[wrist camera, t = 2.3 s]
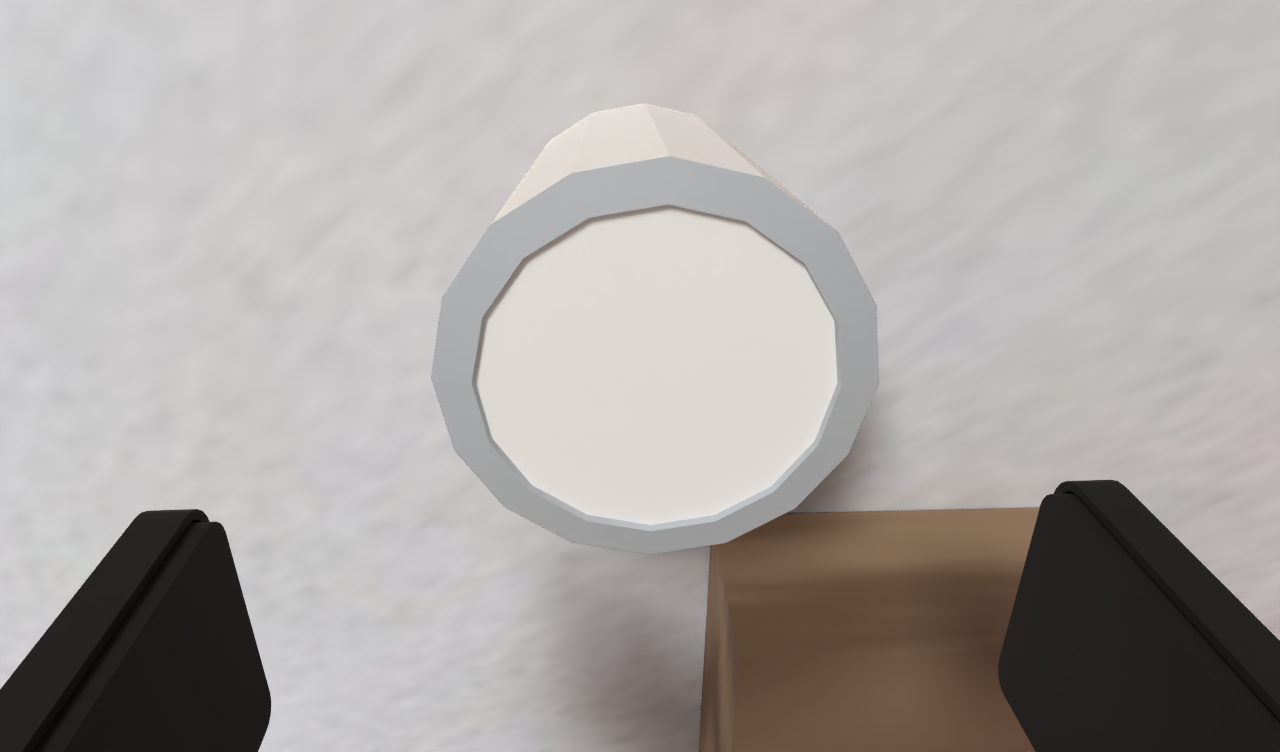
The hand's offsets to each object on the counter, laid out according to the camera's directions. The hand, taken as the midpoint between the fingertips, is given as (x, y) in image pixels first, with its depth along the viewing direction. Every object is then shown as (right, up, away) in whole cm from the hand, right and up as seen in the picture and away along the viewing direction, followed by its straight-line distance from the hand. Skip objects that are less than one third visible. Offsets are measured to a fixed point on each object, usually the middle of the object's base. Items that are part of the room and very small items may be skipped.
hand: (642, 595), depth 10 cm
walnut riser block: (+8, -6, +16) cm, 19 cm away
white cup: (0, +6, +9) cm, 11 cm away
